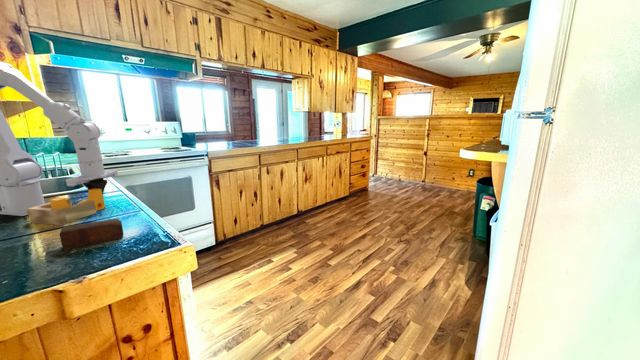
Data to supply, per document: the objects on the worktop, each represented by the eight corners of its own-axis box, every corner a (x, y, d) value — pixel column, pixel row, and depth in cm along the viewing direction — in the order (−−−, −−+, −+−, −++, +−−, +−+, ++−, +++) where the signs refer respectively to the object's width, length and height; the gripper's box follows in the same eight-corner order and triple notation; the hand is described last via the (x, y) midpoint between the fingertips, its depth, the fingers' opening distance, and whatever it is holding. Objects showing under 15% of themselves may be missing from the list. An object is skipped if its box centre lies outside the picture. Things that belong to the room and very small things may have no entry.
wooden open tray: (30, 222, 70) (26, 208, 69) (68, 210, 79) (65, 198, 78) (60, 225, 69) (57, 211, 68) (96, 212, 78) (94, 200, 77)
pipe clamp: (94, 207, 82) (90, 188, 81) (105, 207, 82) (101, 188, 80) (50, 221, 71) (44, 199, 69) (62, 222, 70) (57, 200, 69)
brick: (63, 252, 55) (58, 232, 54) (66, 245, 58) (61, 226, 57) (124, 239, 61) (121, 221, 60) (123, 233, 64) (120, 216, 63)
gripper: (75, 165, 73) (86, 210, 76) (122, 158, 86) (129, 196, 90) (56, 164, 74) (66, 208, 77) (105, 157, 88) (112, 195, 91)
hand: (99, 201), depth 83 cm, fingers closed
